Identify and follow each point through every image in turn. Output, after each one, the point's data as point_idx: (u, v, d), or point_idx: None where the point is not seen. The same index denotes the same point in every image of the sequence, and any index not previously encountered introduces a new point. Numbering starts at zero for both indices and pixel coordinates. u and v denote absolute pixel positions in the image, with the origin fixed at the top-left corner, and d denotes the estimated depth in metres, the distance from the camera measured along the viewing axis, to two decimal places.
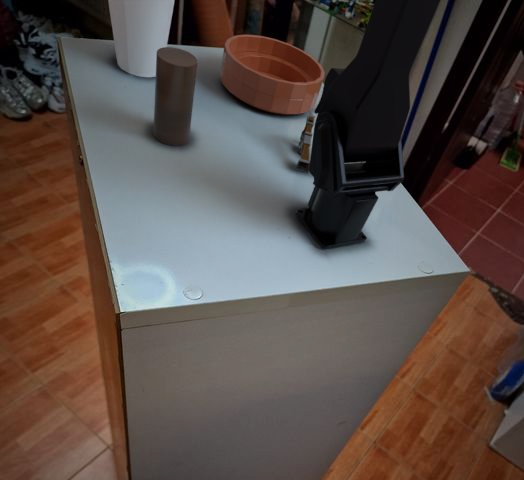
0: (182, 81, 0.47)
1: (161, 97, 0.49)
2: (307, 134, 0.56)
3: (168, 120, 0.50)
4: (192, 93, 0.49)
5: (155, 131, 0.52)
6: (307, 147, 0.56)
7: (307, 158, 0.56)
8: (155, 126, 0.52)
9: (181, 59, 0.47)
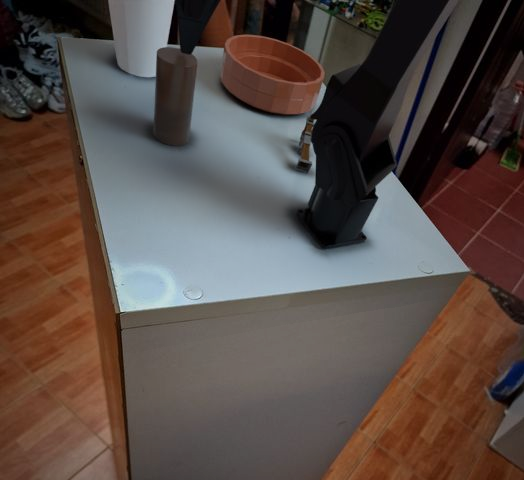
0: (182, 81, 0.47)
1: (161, 97, 0.49)
2: (307, 134, 0.56)
3: (168, 120, 0.50)
4: (192, 93, 0.49)
5: (155, 131, 0.52)
6: (307, 147, 0.56)
7: (307, 158, 0.56)
8: (155, 126, 0.52)
9: (181, 59, 0.47)
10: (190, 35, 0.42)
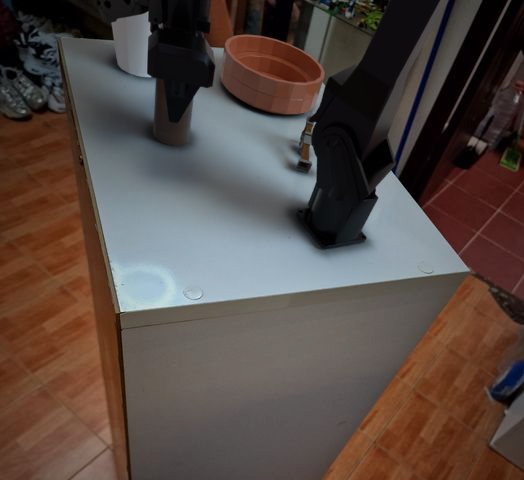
0: None
1: (161, 97, 0.49)
2: (307, 134, 0.56)
3: (168, 120, 0.50)
4: None
5: (155, 131, 0.52)
6: (307, 147, 0.56)
7: (307, 158, 0.56)
8: (155, 126, 0.52)
9: None
10: (177, 109, 0.49)
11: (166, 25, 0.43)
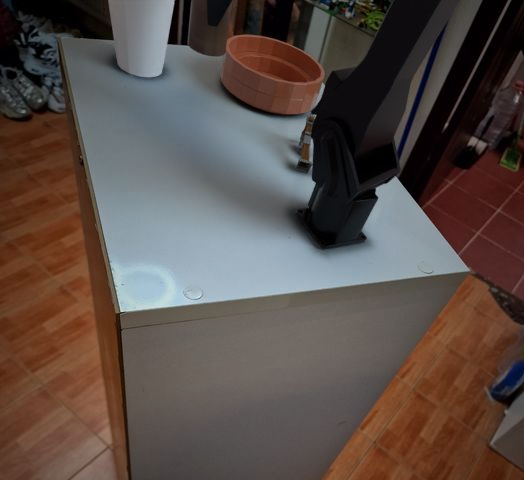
0: None
1: None
2: (307, 134, 0.56)
3: (206, 24, 0.47)
4: None
5: (190, 39, 0.49)
6: (307, 147, 0.56)
7: (307, 158, 0.56)
8: (190, 34, 0.48)
9: None
10: (218, 8, 0.45)
11: None
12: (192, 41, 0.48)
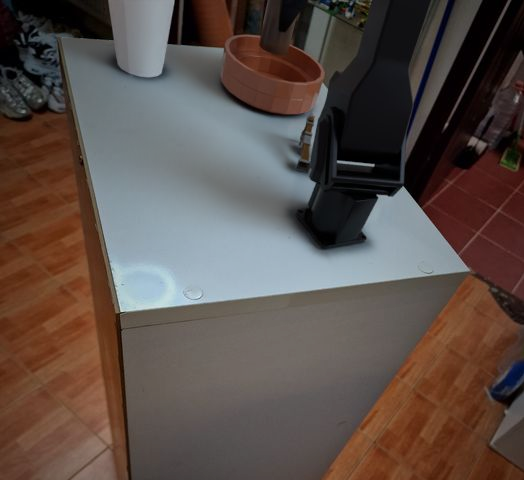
0: None
1: (273, 8, 0.58)
2: (307, 134, 0.56)
3: (276, 30, 0.60)
4: None
5: (262, 42, 0.62)
6: (307, 147, 0.56)
7: (307, 158, 0.56)
8: (262, 37, 0.62)
9: None
10: (288, 18, 0.58)
11: None
12: (264, 43, 0.62)
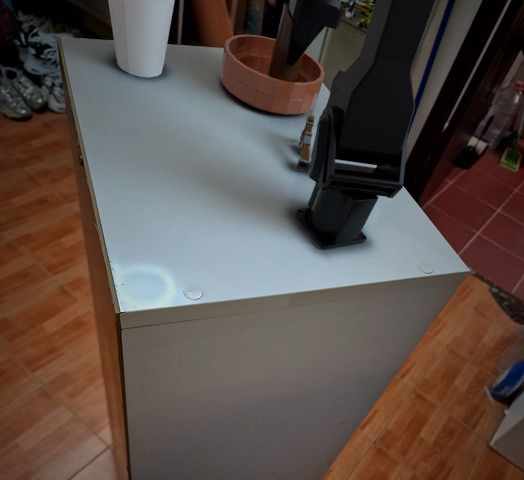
0: None
1: (283, 43, 0.61)
2: (307, 134, 0.56)
3: (285, 63, 0.63)
4: None
5: (271, 73, 0.65)
6: (307, 147, 0.56)
7: (307, 158, 0.56)
8: (272, 69, 0.65)
9: None
10: (296, 52, 0.61)
11: None
12: (273, 74, 0.65)
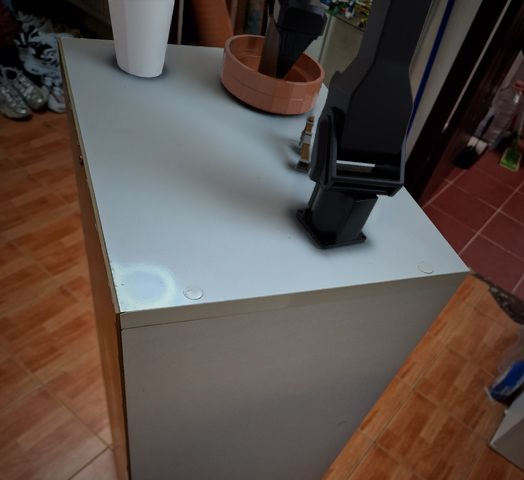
0: None
1: (268, 53, 0.62)
2: (307, 134, 0.56)
3: (271, 73, 0.63)
4: None
5: None
6: (307, 147, 0.56)
7: (307, 158, 0.56)
8: None
9: None
10: (285, 66, 0.60)
11: None
12: None
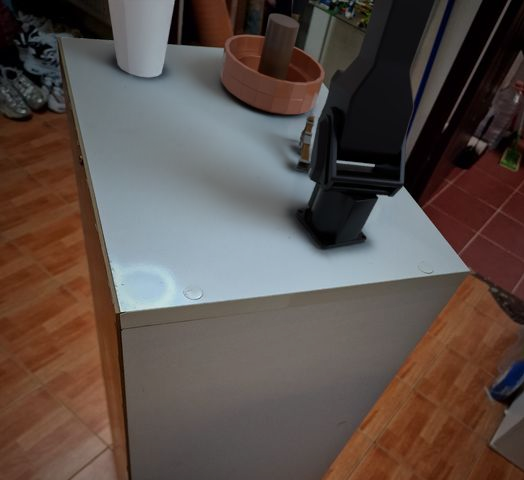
0: (287, 39, 0.60)
1: (268, 53, 0.62)
2: (307, 134, 0.56)
3: (271, 73, 0.63)
4: (292, 51, 0.62)
5: None
6: (307, 147, 0.56)
7: (307, 158, 0.56)
8: None
9: (288, 22, 0.60)
10: None
11: None
12: None
